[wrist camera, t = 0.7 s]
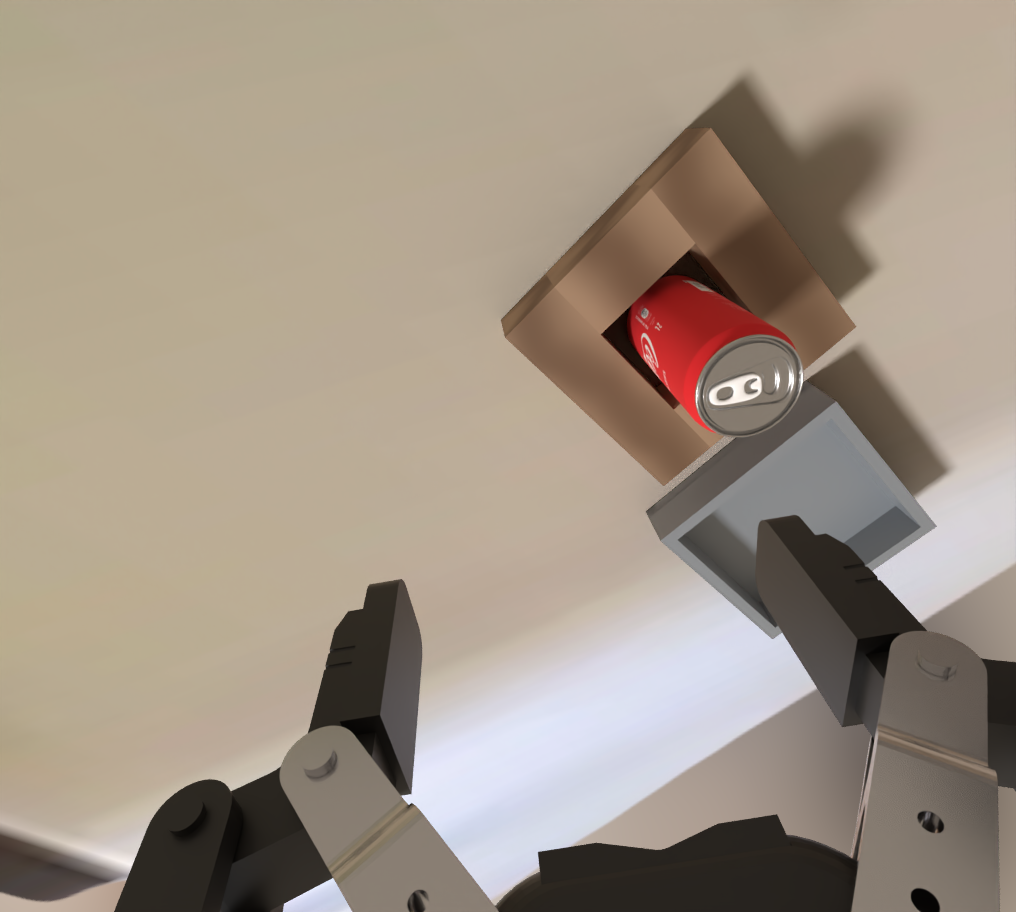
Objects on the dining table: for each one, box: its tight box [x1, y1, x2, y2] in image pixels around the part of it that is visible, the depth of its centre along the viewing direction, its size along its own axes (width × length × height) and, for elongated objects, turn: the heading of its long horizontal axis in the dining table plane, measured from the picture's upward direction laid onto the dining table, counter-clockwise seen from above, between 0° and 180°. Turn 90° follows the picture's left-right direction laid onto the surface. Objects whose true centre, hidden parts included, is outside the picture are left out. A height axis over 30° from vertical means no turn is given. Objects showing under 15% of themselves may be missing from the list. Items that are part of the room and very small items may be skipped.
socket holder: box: [501, 128, 856, 486], centre depth 35 cm, size 14×14×4 cm
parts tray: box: [646, 381, 937, 639], centre depth 42 cm, size 14×14×4 cm
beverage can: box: [627, 275, 804, 438], centre depth 31 cm, size 5×5×12 cm
